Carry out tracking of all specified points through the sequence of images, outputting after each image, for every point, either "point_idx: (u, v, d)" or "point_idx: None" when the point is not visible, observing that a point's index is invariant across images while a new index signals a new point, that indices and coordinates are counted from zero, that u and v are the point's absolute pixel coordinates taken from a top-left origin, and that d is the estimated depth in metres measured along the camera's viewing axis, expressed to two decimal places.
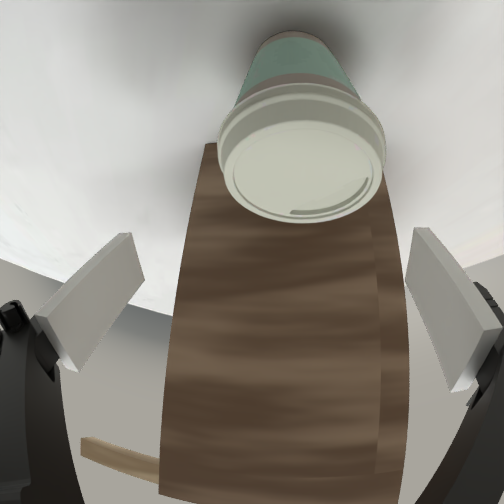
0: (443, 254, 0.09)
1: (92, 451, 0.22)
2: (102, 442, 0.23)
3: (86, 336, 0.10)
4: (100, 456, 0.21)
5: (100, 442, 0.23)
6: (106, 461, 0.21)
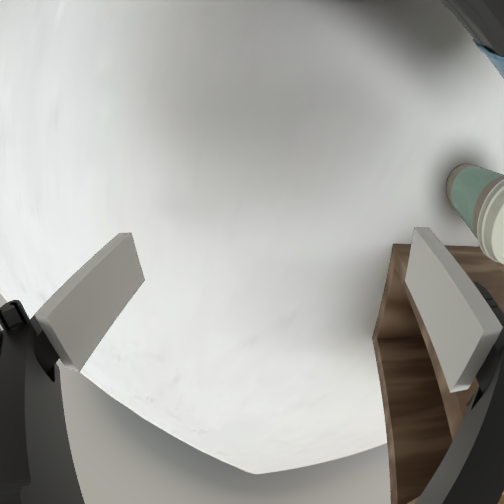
0: (443, 254, 0.09)
1: None
2: None
3: (86, 336, 0.10)
4: None
5: None
6: None
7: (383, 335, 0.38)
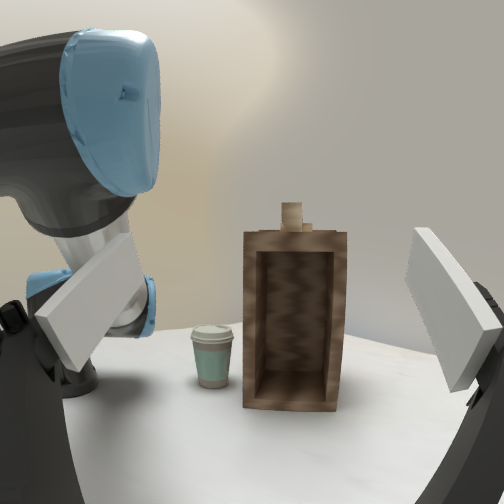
0: (443, 254, 0.09)
1: None
2: (295, 224, 0.34)
3: (86, 336, 0.10)
4: None
5: (293, 224, 0.34)
6: None
7: (321, 399, 0.45)
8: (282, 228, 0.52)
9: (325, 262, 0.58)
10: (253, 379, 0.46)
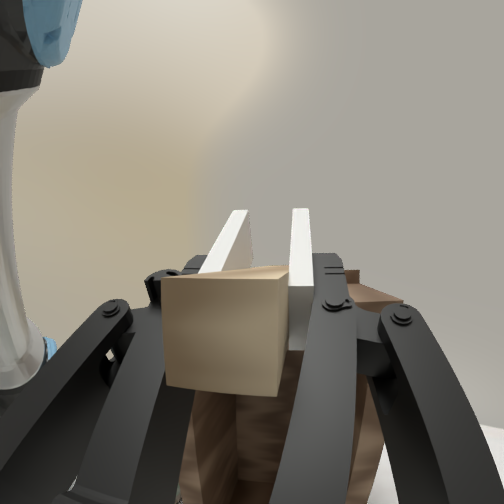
0: (301, 228, 0.12)
1: None
2: None
3: None
4: None
5: None
6: None
7: None
8: None
9: None
10: None
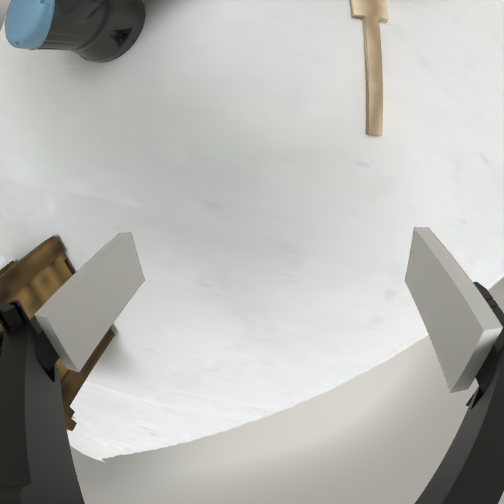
0: (443, 254, 0.09)
1: (367, 123, 0.40)
2: None
3: (86, 336, 0.10)
4: (367, 116, 0.40)
5: None
6: (368, 111, 0.39)
7: None
8: (354, 16, 0.32)
9: None
10: None
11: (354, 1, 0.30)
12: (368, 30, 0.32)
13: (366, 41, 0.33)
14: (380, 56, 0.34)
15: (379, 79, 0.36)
